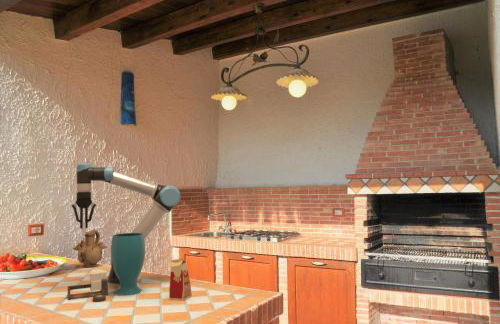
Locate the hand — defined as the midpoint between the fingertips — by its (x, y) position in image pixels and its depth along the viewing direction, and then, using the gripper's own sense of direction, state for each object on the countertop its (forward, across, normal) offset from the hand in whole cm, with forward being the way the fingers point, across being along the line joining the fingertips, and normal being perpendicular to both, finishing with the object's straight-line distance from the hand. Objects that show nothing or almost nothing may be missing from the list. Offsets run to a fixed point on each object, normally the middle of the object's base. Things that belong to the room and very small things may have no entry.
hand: (83, 234), depth 245 cm
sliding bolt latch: (+29, 0, +18) cm, 34 cm away
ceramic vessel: (+30, -10, -66) cm, 73 cm away
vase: (+30, -20, +20) cm, 41 cm away
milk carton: (+30, -40, +45) cm, 67 cm away
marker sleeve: (+27, -4, +18) cm, 32 cm away
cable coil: (+29, -4, +30) cm, 42 cm away
